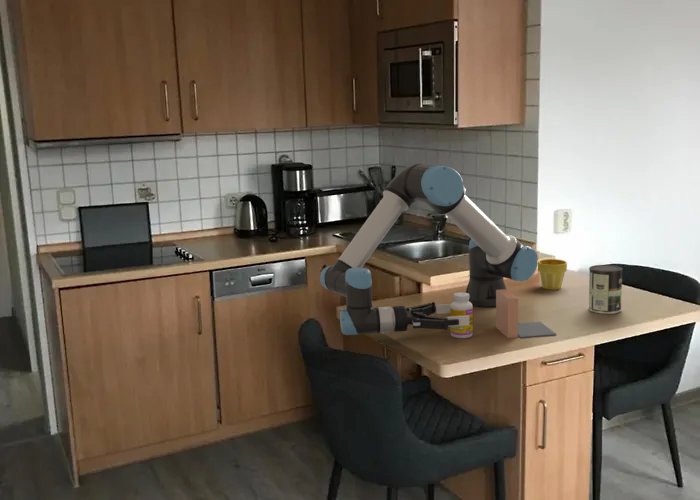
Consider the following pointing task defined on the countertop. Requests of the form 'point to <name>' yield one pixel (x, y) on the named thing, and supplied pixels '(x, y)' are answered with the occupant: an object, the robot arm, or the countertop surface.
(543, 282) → the plant pot
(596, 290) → the coffee can
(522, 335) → the mat
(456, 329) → the supplement bottle
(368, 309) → the robot arm
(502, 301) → the pink flat block
